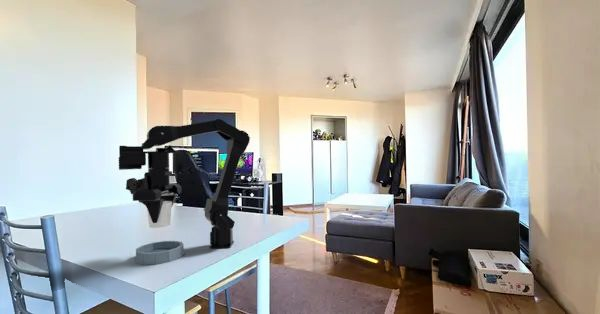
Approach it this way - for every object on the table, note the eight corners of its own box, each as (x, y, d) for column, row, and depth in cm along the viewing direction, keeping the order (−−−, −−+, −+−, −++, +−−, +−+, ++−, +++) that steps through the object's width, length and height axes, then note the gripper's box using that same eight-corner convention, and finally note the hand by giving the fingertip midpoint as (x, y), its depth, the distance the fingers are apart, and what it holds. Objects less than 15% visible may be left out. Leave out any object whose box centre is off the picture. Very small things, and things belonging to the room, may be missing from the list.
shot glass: (162, 228, 83) (162, 204, 83) (141, 228, 84) (141, 203, 84) (177, 223, 90) (176, 200, 90) (157, 222, 91) (157, 200, 91)
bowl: (189, 249, 93) (189, 240, 93) (172, 263, 80) (172, 252, 80) (149, 250, 93) (149, 241, 93) (126, 264, 80) (126, 254, 80)
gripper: (147, 168, 96) (148, 215, 96) (112, 170, 77) (113, 228, 77) (181, 167, 96) (182, 214, 96) (153, 169, 78) (155, 227, 78)
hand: (160, 220), depth 87 cm, fingers closed on shot glass, 6 cm apart
